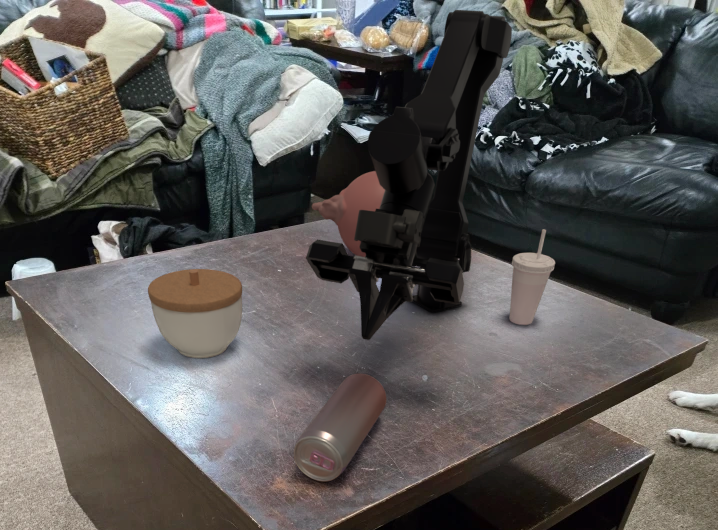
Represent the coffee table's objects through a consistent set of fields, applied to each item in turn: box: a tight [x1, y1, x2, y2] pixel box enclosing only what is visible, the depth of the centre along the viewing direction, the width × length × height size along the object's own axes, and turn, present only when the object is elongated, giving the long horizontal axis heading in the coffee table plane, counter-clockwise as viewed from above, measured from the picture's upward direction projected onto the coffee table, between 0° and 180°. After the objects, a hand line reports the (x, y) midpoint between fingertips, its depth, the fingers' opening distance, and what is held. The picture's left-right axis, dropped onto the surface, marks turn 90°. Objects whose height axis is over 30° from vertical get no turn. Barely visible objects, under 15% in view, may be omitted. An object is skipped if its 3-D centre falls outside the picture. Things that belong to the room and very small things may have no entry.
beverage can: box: [293, 373, 387, 483], centre depth 72 cm, size 6×6×15 cm
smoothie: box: [508, 228, 556, 326], centre depth 98 cm, size 6×6×14 cm
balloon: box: [311, 170, 385, 257], centre depth 117 cm, size 15×20×15 cm
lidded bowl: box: [147, 268, 243, 359], centre depth 89 cm, size 13×13×11 cm
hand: (365, 338), depth 76 cm, fingers closed
